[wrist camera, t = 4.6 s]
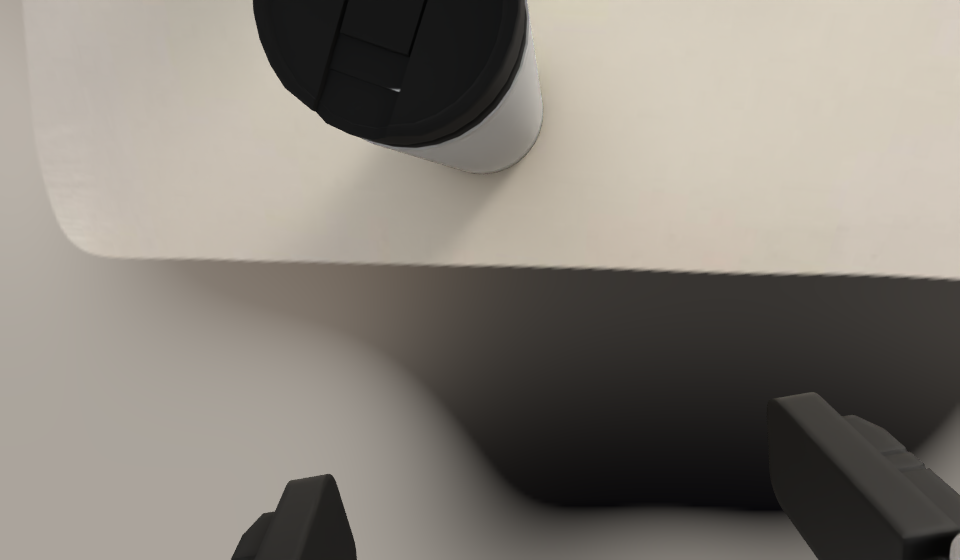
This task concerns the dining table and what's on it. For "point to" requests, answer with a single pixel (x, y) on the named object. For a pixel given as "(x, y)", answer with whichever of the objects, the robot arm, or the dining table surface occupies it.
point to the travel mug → (413, 73)
